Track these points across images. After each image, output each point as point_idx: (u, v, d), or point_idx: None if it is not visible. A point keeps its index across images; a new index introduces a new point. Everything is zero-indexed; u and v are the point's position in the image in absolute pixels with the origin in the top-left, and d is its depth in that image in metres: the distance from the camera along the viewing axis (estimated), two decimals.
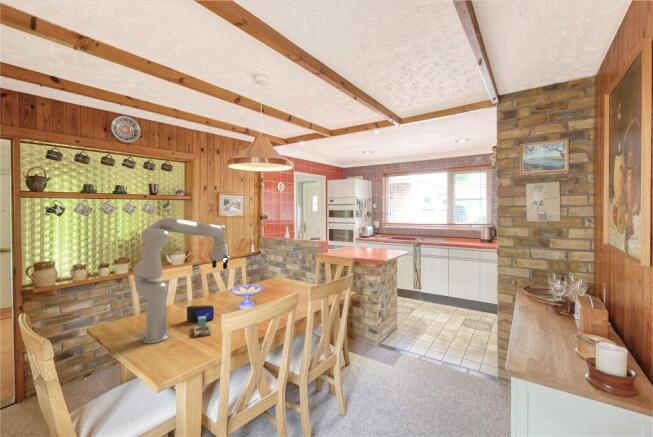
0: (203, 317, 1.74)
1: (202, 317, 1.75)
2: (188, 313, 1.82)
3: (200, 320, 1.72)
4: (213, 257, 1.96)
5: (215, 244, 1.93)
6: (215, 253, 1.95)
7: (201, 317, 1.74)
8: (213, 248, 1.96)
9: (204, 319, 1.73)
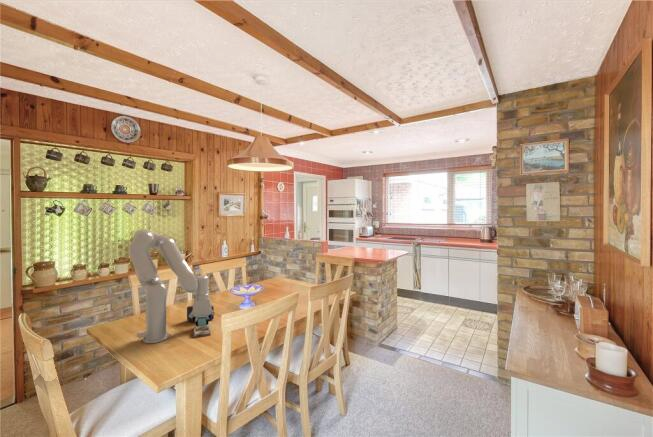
0: (203, 317, 1.74)
1: (202, 317, 1.75)
2: (188, 313, 1.82)
3: (200, 320, 1.72)
4: (196, 314, 1.70)
5: (202, 298, 1.70)
6: (200, 309, 1.71)
7: (201, 317, 1.74)
8: (196, 304, 1.70)
9: (204, 319, 1.73)
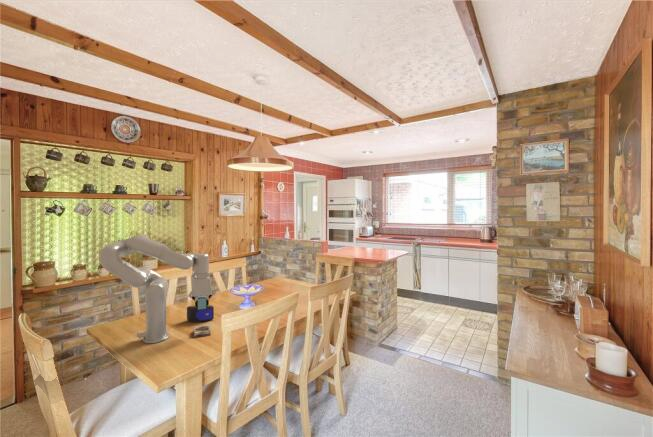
0: (203, 297, 1.66)
1: (202, 297, 1.66)
2: (188, 313, 1.82)
3: (200, 300, 1.64)
4: (196, 293, 1.62)
5: (202, 277, 1.62)
6: (200, 288, 1.63)
7: (201, 297, 1.66)
8: (196, 282, 1.62)
9: (204, 299, 1.65)
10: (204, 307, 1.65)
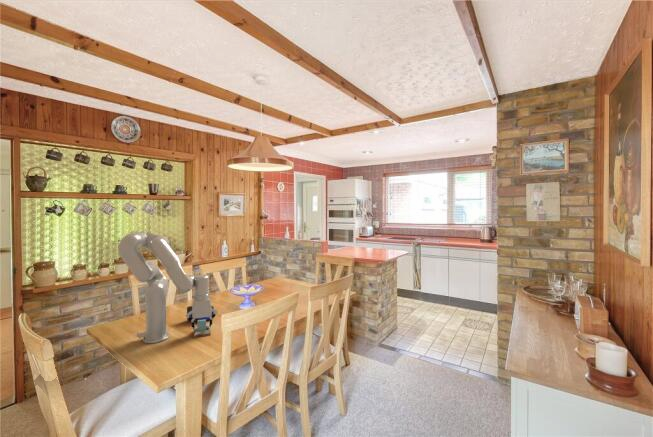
0: (203, 321, 1.66)
1: (202, 320, 1.66)
2: None
3: (200, 324, 1.64)
4: (196, 315, 1.62)
5: (201, 299, 1.62)
6: (200, 310, 1.63)
7: (201, 321, 1.66)
8: (196, 305, 1.62)
9: (204, 323, 1.64)
10: None
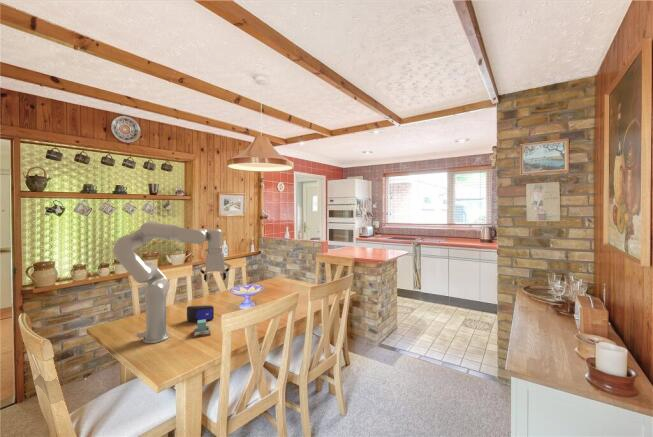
0: (203, 321, 1.66)
1: (202, 320, 1.66)
2: (188, 313, 1.82)
3: (200, 324, 1.64)
4: (210, 268, 1.62)
5: (215, 252, 1.62)
6: (213, 263, 1.63)
7: (201, 321, 1.66)
8: (209, 257, 1.62)
9: (204, 323, 1.64)
10: None
